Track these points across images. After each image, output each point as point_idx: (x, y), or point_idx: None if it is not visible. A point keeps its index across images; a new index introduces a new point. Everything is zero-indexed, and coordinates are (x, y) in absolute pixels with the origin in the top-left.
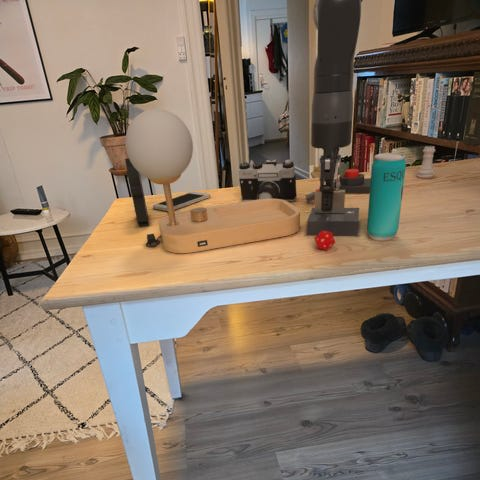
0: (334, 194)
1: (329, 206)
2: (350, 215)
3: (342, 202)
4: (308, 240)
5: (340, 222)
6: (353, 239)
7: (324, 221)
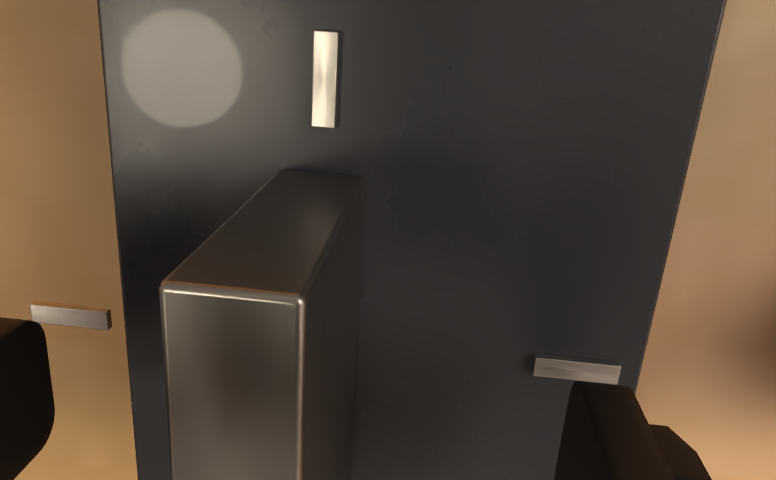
0: (312, 441)
1: (700, 469)
2: (457, 90)
3: (343, 248)
4: (701, 441)
5: (672, 220)
6: (761, 41)
7: None
